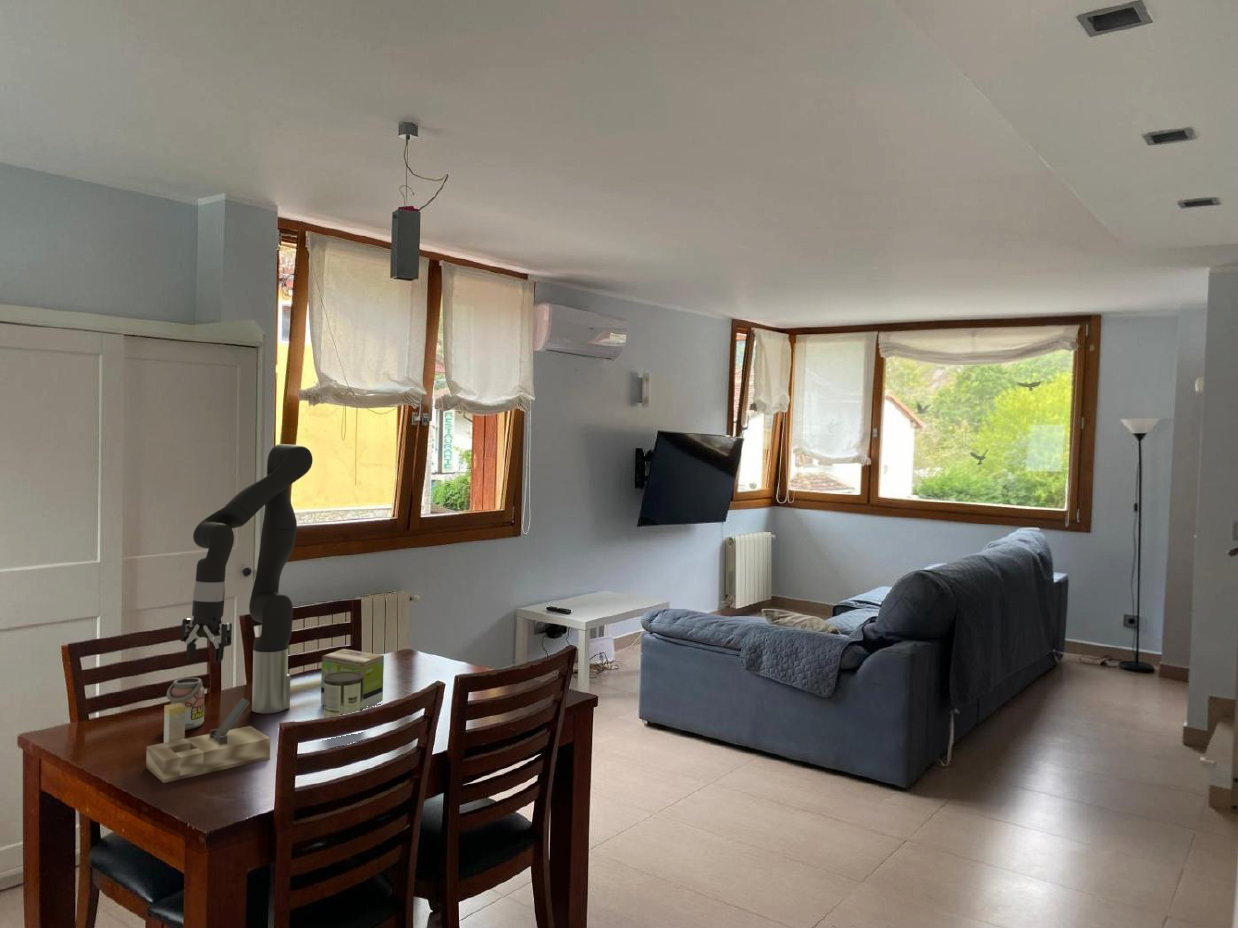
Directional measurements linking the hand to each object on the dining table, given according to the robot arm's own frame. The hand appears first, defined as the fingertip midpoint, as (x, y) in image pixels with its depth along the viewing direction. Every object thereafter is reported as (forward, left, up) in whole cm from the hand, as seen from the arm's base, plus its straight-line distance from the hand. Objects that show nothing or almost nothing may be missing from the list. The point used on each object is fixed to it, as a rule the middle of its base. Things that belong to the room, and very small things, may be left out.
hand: (204, 660), depth 237 cm
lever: (+2, +25, -9) cm, 27 cm away
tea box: (-41, +3, -19) cm, 45 cm away
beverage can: (+2, -6, -19) cm, 20 cm away
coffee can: (-29, +21, -19) cm, 40 cm away
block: (+7, +25, -18) cm, 32 cm away
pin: (+11, +13, -18) cm, 25 cm away
